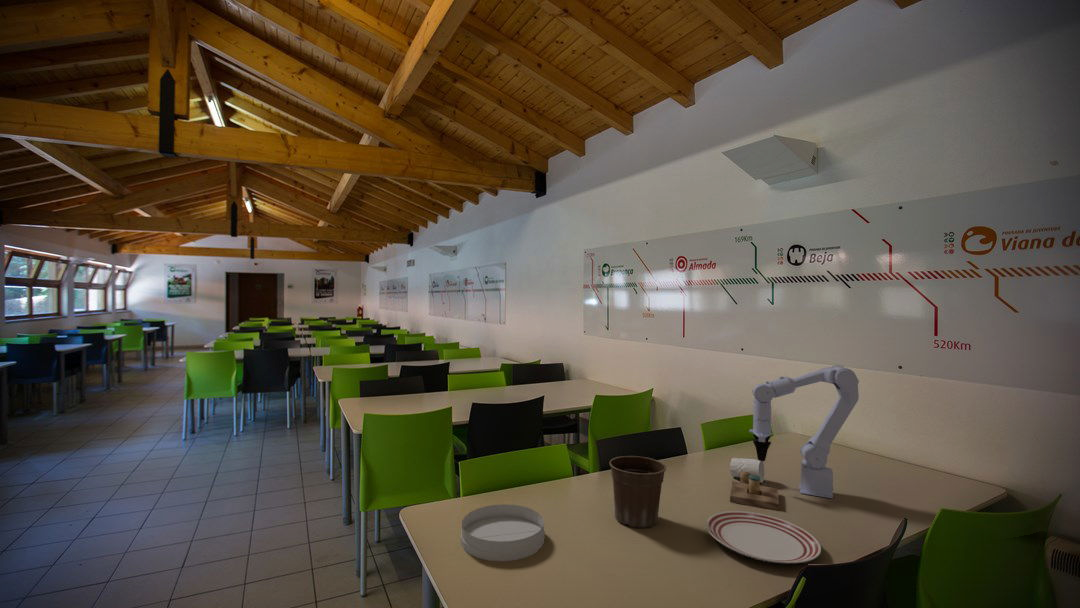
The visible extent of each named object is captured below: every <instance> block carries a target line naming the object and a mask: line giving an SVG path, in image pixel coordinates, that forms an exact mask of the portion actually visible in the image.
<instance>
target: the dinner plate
mask: <svg viewBox="0 0 1080 608" xmlns="http://www.w3.org/2000/svg"><path fill="white" fill-rule="evenodd" d="M705 526H706V530H707V532H708V533H709V535H711V536H712V537H713V539H714V540H716V542H718V543H719V544H721V545H722V546H723V547H725V548H727V549H729V550H731V551H732V552H735V553H738V554H739V555H742V556H744V557H745V556H746V557H747V558H750V557H751V559H753V558H754V559H753V560H757V561H761V560H762V562H766V561H767V562H768V563H775V564H801V563H808V562H811V561H813V560H815V559H818V557H819V556H820V555H821V552H822V546H821V544H820V542H819V541H818V539H816V538H815V536H813V534H811V533H809V532H808V531H807V530H806V529H804V528H802V527H800V526H798V525H796V524H795V523H792V522H789V521H787V520H785V519H781V518H778V517H775V516H773V515H768V514H764V513H759V512H758V513H757V512H753V511H742V510H741V511H740V510H730V511H729V510H728V511H721V512H718V513H715V514H713V515H711V516H709V517H708V518H707V520H706V523H705ZM711 536H710V537H711ZM767 562H766V563H767Z"/></svg>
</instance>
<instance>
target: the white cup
mask: <svg viewBox="0 0 1080 608" xmlns="http://www.w3.org/2000/svg"><path fill="white" fill-rule="evenodd" d="M729 466H730V467H729V470H730V471H729V472H730V476H731V477H733V478H736V479H739V480H741V472H749V473H750V474H751V475H756V476H759V477H760V484H762V483H763V482H764V479H765V464H764V461H758V458H757V459H755V458H743V457H742V458H741V457H732V458H731V461H730V464H729Z"/></svg>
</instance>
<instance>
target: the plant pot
mask: <svg viewBox="0 0 1080 608" xmlns="http://www.w3.org/2000/svg"><path fill="white" fill-rule="evenodd" d="M609 466H610V470H611V478H612V484H613V502H614V516H615V520H617V522H619V523H620V524H622V525H625V526H626V525H629V526H630V527H631V528H638V529H639V528H640V529H645V528H646V529H647V528H651V527H653V526H655V525H656V524H657V523H658V518H659V509H660V502H661V501H660V500H661V492H662V484H663V483H664V477H665V472H666V471H667V465H666V464H665V463H663V462H661V461H659V460H657V459H654V458H650V457H645V456H639V455H638V456H637V455H626V456H625V455H624V456H616V457H613V458H611V460H610V461H609Z"/></svg>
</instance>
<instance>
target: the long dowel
mask: <svg viewBox="0 0 1080 608" xmlns="http://www.w3.org/2000/svg"><path fill="white" fill-rule="evenodd" d="M760 486H761V483H760V477H759V476H756V475H749V494H755V495H760Z"/></svg>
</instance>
